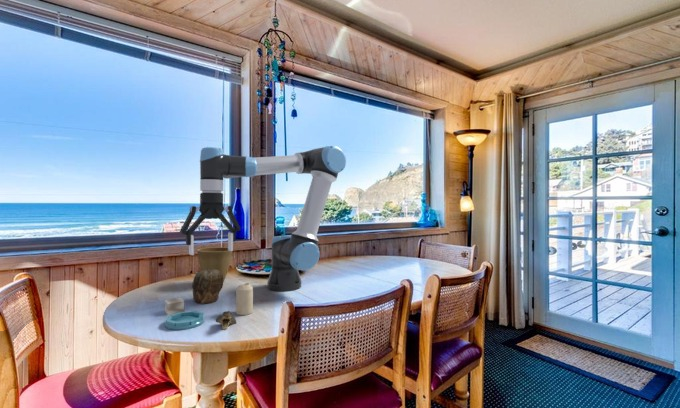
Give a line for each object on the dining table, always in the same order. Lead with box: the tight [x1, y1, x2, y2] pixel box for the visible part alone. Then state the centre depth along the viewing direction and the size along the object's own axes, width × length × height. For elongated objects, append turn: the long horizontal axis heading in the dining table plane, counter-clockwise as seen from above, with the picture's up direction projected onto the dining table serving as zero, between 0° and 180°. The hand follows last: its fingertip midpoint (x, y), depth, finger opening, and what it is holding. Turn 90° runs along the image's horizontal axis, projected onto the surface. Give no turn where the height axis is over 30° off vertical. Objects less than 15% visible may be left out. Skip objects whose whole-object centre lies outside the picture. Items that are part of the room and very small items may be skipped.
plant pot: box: [196, 246, 233, 283], centre depth 149 cm, size 15×15×16 cm
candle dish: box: [164, 310, 205, 331], centre depth 103 cm, size 11×11×2 cm
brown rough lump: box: [191, 269, 224, 304], centre depth 125 cm, size 11×11×12 cm
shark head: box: [214, 310, 237, 331], centre depth 100 cm, size 8×6×7 cm
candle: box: [235, 282, 254, 316], centre depth 113 cm, size 6×6×10 cm
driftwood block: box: [164, 297, 185, 316], centre depth 113 cm, size 5×5×4 cm
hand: (211, 252), depth 115 cm, fingers open, 13 cm apart
